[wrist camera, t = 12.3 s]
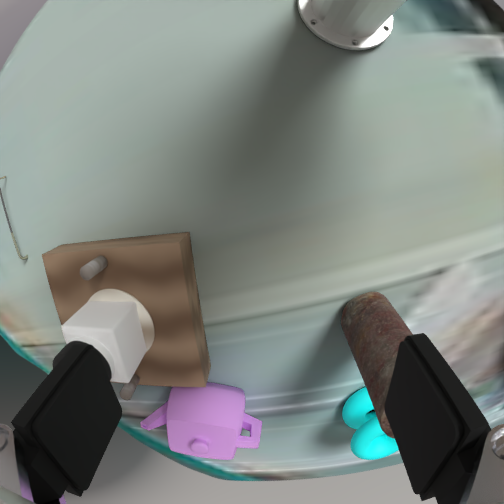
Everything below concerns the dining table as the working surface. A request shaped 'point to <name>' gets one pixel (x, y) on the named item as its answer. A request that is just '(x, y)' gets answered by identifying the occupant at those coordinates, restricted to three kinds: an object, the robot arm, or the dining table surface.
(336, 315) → the dining table surface
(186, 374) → the stand
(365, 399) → the donuts
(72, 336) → the medicine bottle
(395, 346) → the brown rusty cylinder
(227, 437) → the teapot
